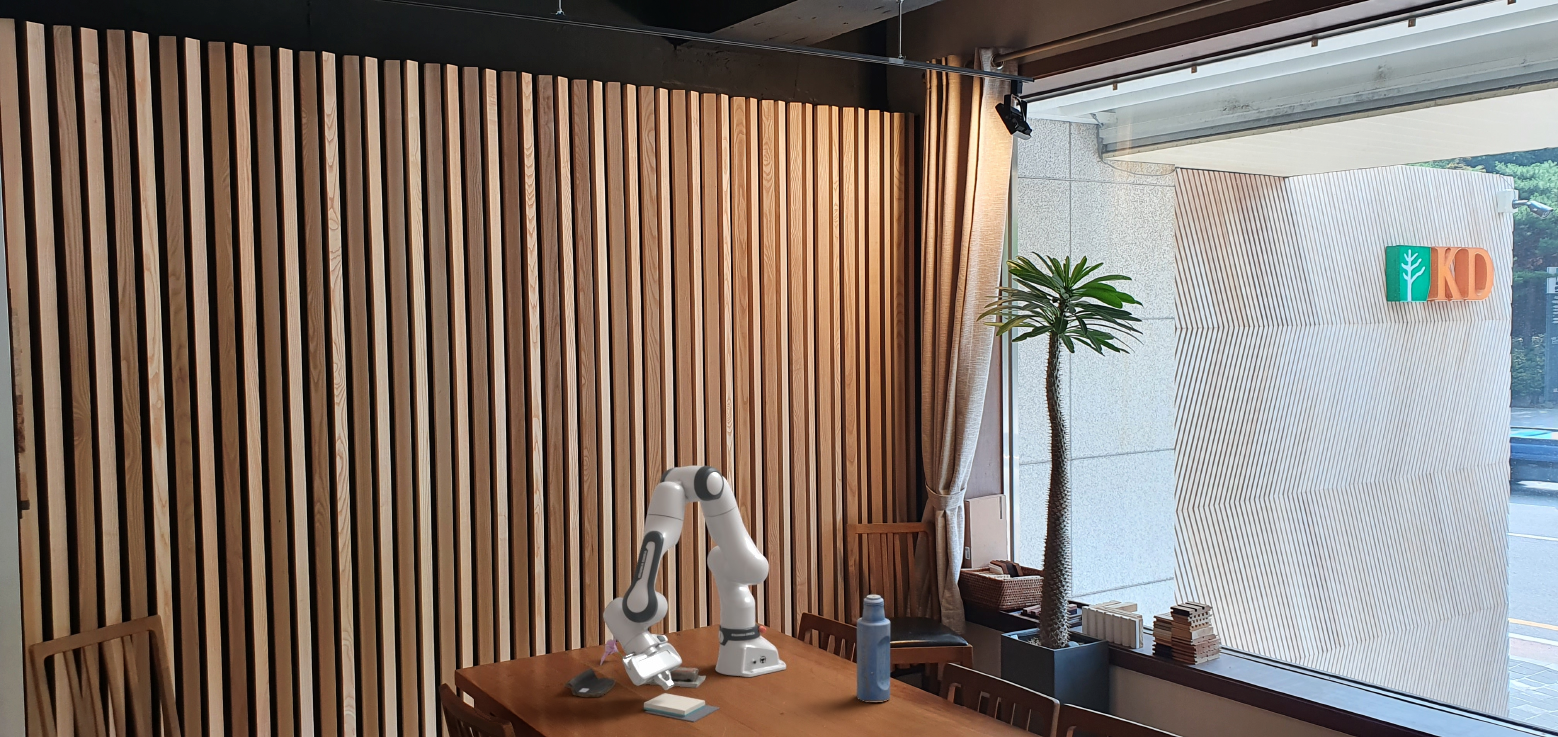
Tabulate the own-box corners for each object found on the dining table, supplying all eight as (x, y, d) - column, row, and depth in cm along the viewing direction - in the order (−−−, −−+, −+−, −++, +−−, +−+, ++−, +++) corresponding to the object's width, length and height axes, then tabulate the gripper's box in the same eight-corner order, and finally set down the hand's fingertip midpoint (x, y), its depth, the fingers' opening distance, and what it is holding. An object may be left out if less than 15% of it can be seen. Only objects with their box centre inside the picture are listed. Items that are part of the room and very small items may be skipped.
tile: (643, 702, 308) (684, 710, 302) (664, 692, 317) (704, 700, 310) (643, 708, 308) (684, 716, 302) (664, 699, 317) (705, 706, 310)
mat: (645, 712, 306) (645, 711, 306) (671, 699, 318) (671, 698, 318) (694, 721, 298) (694, 720, 298) (719, 708, 310) (719, 707, 310)
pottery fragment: (599, 699, 319) (599, 685, 319) (561, 696, 322) (561, 681, 322) (618, 684, 333) (618, 670, 333) (582, 681, 336) (582, 667, 336)
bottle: (871, 691, 325) (871, 590, 325) (897, 698, 318) (897, 595, 318) (850, 698, 318) (849, 595, 318) (875, 705, 311) (875, 600, 311)
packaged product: (640, 669, 333) (650, 660, 342) (640, 685, 333) (650, 676, 342) (697, 673, 329) (706, 664, 339) (697, 689, 329) (706, 679, 339)
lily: (610, 657, 366) (596, 634, 364) (640, 646, 363) (626, 622, 360) (600, 678, 355) (585, 654, 352) (630, 667, 351) (616, 643, 349)
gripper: (626, 650, 305) (654, 690, 300) (668, 633, 322) (696, 671, 318) (613, 664, 307) (641, 704, 302) (656, 647, 325) (683, 684, 320)
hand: (670, 687), depth 310 cm, fingers closed
